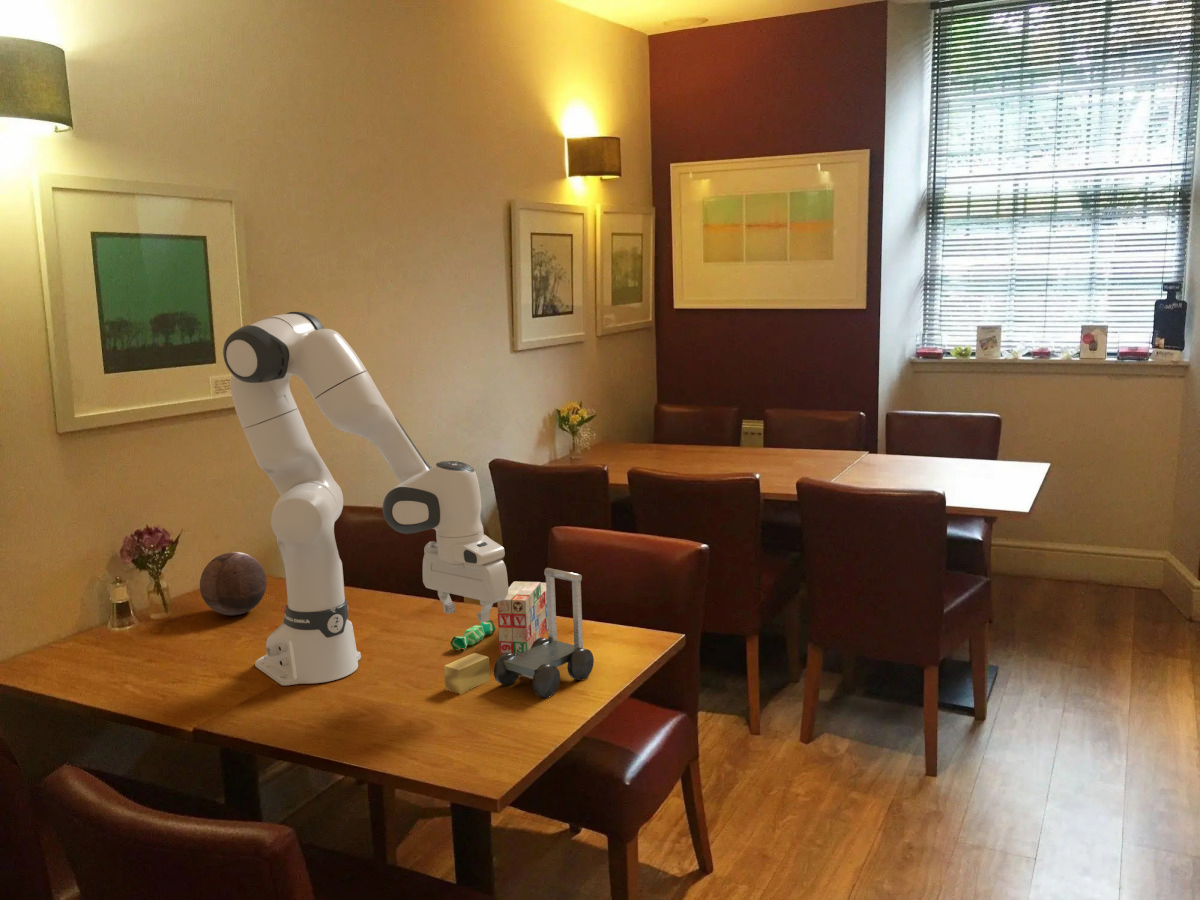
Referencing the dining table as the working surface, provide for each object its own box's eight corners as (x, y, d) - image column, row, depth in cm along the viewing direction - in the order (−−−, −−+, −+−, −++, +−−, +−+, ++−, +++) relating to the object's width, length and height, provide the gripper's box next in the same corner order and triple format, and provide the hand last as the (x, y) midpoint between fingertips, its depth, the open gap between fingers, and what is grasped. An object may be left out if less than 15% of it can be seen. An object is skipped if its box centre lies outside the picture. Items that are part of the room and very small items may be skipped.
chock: (445, 690, 192) (444, 665, 191) (475, 676, 198) (474, 652, 197) (460, 695, 190) (458, 670, 189) (490, 681, 196) (488, 657, 195)
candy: (479, 628, 223) (486, 615, 222) (490, 638, 223) (498, 624, 221) (447, 646, 213) (455, 632, 211) (459, 657, 212) (467, 643, 210)
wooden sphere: (281, 605, 247) (275, 545, 244) (246, 625, 232) (240, 563, 230) (226, 602, 250) (221, 544, 247) (189, 622, 236) (183, 560, 233)
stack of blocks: (527, 620, 230) (525, 568, 228) (554, 621, 229) (552, 569, 227) (499, 654, 210) (496, 598, 208) (528, 656, 208) (525, 599, 206)
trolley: (550, 661, 204) (546, 564, 201) (594, 674, 197) (590, 573, 194) (494, 687, 192) (489, 584, 189) (539, 702, 185) (534, 595, 182)
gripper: (411, 543, 193) (417, 612, 196) (486, 557, 181) (492, 631, 183) (436, 536, 198) (442, 603, 201) (511, 549, 185) (516, 620, 188)
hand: (466, 616), depth 192 cm, fingers open, 8 cm apart
